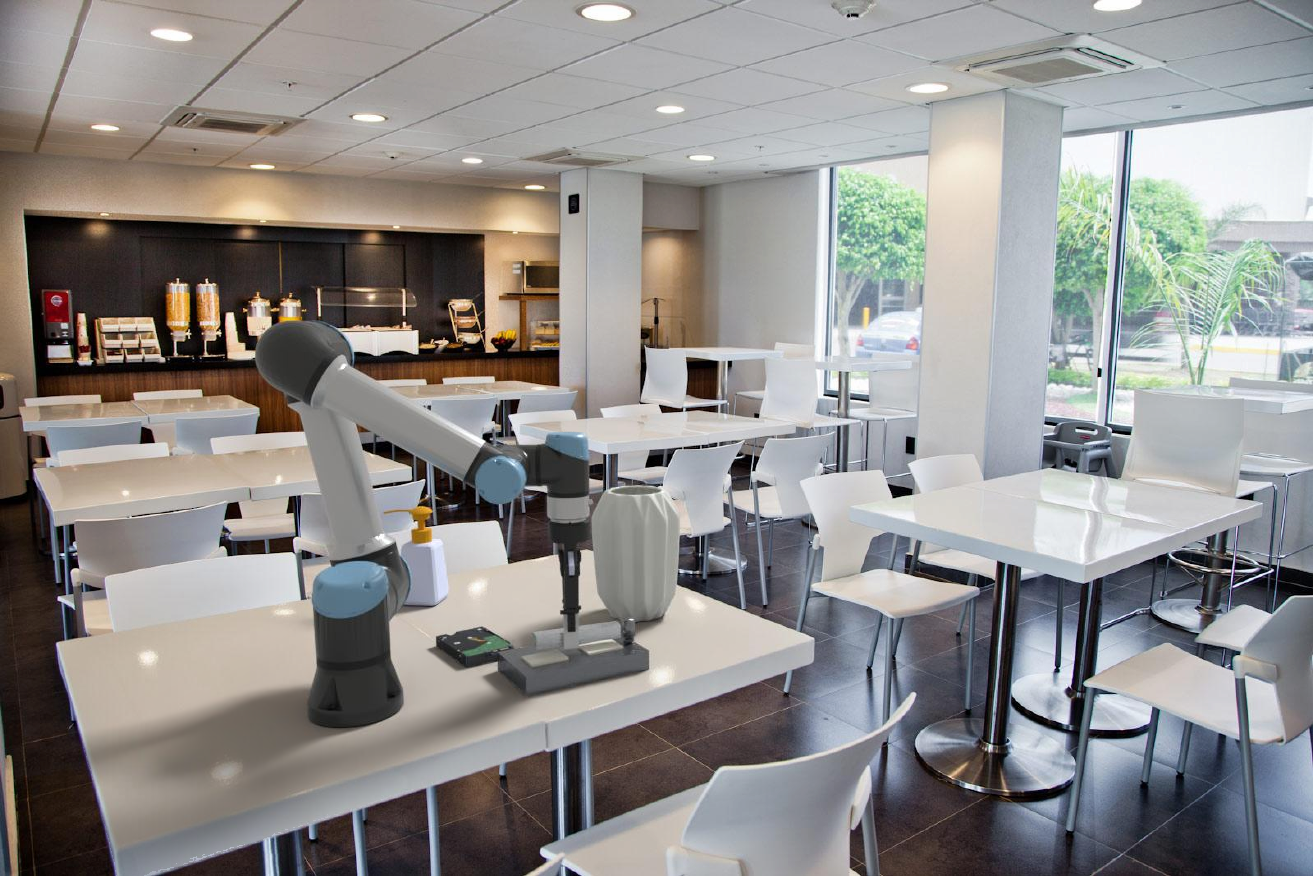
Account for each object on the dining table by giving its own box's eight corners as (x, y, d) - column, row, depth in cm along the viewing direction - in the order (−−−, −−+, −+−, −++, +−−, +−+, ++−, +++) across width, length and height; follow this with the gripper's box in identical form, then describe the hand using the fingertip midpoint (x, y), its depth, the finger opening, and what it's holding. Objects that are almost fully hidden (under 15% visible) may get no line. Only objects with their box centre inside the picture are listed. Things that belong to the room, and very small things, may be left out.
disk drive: (435, 650, 180) (467, 670, 168) (434, 636, 180) (466, 656, 168) (482, 638, 186) (517, 658, 174) (482, 625, 186) (516, 643, 174)
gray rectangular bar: (632, 633, 172) (632, 616, 172) (636, 637, 170) (636, 620, 170) (533, 647, 165) (532, 629, 165) (536, 651, 163) (536, 633, 163)
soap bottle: (395, 594, 217) (391, 502, 214) (451, 595, 215) (448, 503, 212) (378, 605, 207) (373, 510, 205) (436, 607, 205) (432, 511, 203)
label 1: (531, 667, 159) (531, 665, 159) (521, 658, 163) (521, 656, 163) (568, 659, 162) (568, 657, 162) (557, 651, 166) (557, 649, 166)
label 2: (588, 655, 164) (588, 653, 164) (577, 647, 168) (577, 645, 168) (623, 648, 168) (623, 646, 167) (610, 640, 172) (610, 638, 172)
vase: (631, 634, 186) (629, 502, 183) (575, 613, 200) (572, 490, 197) (700, 614, 198) (699, 490, 195) (642, 595, 213) (641, 479, 210)
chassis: (526, 696, 155) (525, 672, 154) (497, 670, 167) (497, 647, 166) (649, 669, 167) (649, 646, 166) (614, 646, 179) (613, 625, 178)
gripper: (592, 524, 156) (595, 658, 159) (587, 511, 169) (589, 635, 171) (548, 526, 155) (551, 660, 158) (546, 513, 168) (549, 637, 170)
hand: (571, 647), depth 164 cm, fingers closed
